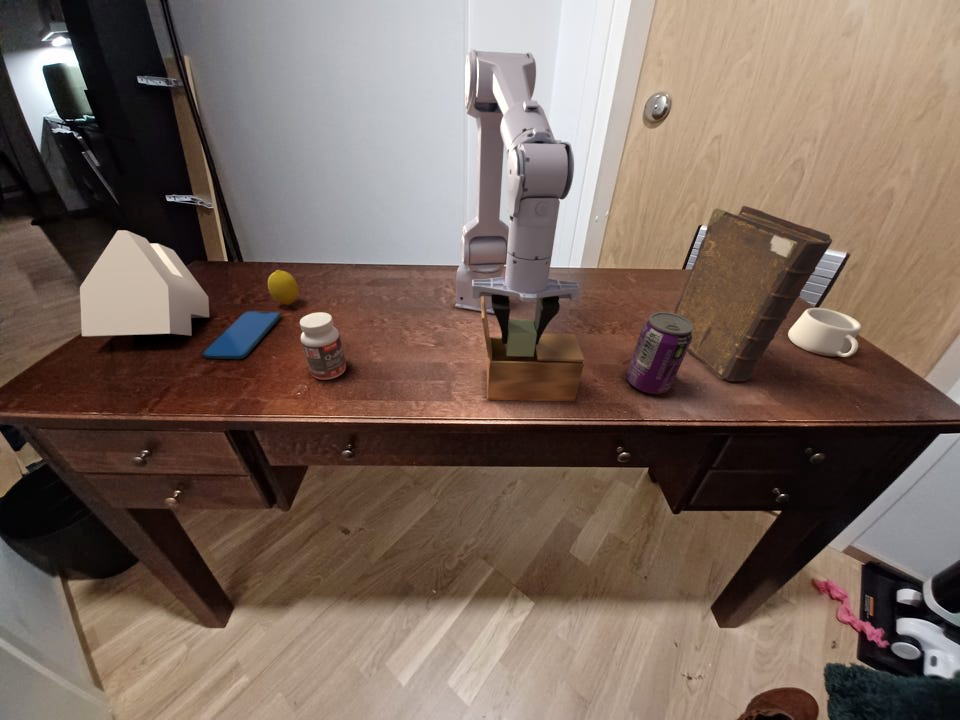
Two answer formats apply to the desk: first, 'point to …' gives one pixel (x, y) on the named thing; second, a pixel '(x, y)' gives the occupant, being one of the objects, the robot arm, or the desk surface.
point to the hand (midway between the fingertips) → (519, 340)
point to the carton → (536, 370)
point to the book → (745, 286)
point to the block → (521, 337)
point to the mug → (826, 332)
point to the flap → (486, 326)
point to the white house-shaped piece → (139, 291)
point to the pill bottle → (322, 346)
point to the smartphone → (242, 335)
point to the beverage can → (659, 352)
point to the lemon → (283, 287)
